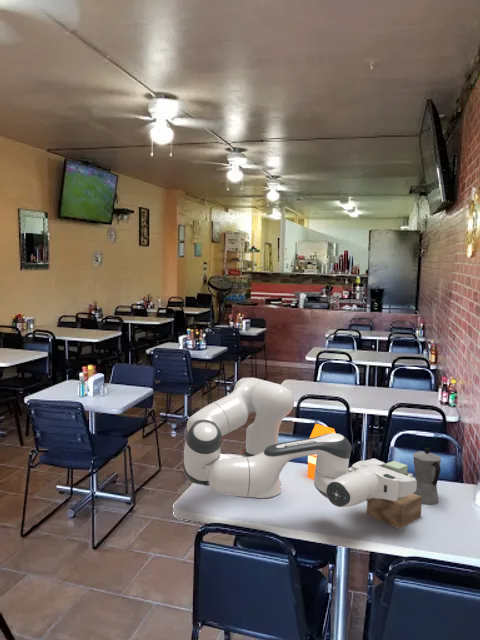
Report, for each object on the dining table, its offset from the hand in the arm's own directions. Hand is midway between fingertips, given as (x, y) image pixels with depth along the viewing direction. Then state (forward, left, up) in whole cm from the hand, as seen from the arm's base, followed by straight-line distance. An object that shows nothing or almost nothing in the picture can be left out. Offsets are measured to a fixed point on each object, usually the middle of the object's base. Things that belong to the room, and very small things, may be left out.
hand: (397, 471), depth 160 cm
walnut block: (0, -1, -15) cm, 15 cm away
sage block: (0, -1, -8) cm, 8 cm away
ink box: (-14, +6, -15) cm, 21 cm away
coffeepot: (0, +18, -15) cm, 23 cm away
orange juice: (-34, +4, -15) cm, 37 cm away
